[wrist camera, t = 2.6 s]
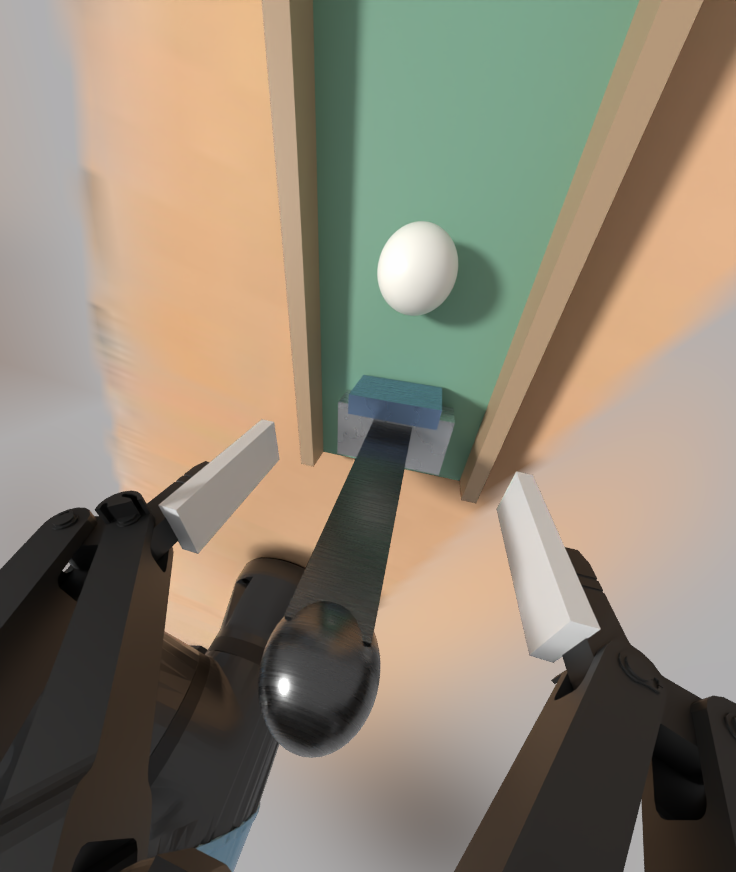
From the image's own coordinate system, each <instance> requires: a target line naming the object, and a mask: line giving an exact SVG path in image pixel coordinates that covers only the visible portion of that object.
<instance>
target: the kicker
mask: <svg viewBox="0 0 736 872" xmlns="http://www.w3.org/2000/svg"><path fill="white" fill-rule="evenodd" d="M454 424H455V419H454V408H452V407H446V406H442V387H436V386H429V385H423V384H417V383H411V382H405V381H399V380H392V379H386V378H380V377H374V376H368V375H363V376H362V377H361V379H360V380H359V381H358V383H357V384H356V385H355V387H354V388H353V389H352V390H347V391H346V393H345V394H344V395H343V396H342V398H341V399H340V400H339V401H338V447H337V454H342V455H347V456H351V457H356V459H355V462H354V464H353V466H352V468H351V470H350V472H349V475H348V477H347V479H346V481H345V483H344V486H343V488H342V490H341V492H340V494H339V497H338V499H337V501H336V503H335V505H334V507H333V510H332V512H331V514H330V516H329V518H328V521H327V523H326V525H325V527H324V529H323V531H322V534H321V536H320V538H319V540H318V542H317V545H316V547H315V549H314V551H313V553H312V556H311V558H310V560H309V562H308V564H307V566H306V569H305V571H304V573H303V575H302V577H301V580H300V582H299V584H298V586H297V588H296V590H295V593H294V595H293V597H292V599H291V601H290V604H289V606H288V608H287V610H286V612H285V615H284V617H283V618H282V619H281V620H280V622H279V623H278V624H277V626H276V627H275V629H274V630H273V632H272V634H271V636H270V638H269V640H268V642H267V644H266V647H265V649H264V652H263V656H262V659H261V664H260V669H259V679H258V695H259V703H260V708H261V712H262V716H263V718H264V721H265V723H266V726H267V728H268V729H269V731H270V733H271V734H272V736H273V737H274V738H275V739H276V741H277V742H278V743H279V744H280V745H281V746H283V747H284V748H285V749H286V750H288V751H289V752H292V753H294V754H296V755H299V756H302V757H311V758H312V757H322V756H325V755H328V754H331V753H333V752H335V751H337V750H338V749H340V748H342V747H343V746H344V745H345V744H347V743H348V742H349V741H350V740H351V739H352V738H353V737H354V736H355V735H356V734H357V733H358V731H359V730H360V729H361V727H362V726H363V725H364V723H365V721H366V719H367V718H368V716H369V714H370V711H371V709H372V707H373V705H374V701H375V698H376V695H377V690H378V685H379V678H380V655H379V648H378V643H377V639H376V636H375V633H374V627H375V622H376V617H377V611H378V606H379V601H380V596H381V590H382V585H383V580H384V574H385V569H386V564H387V558H388V553H389V548H390V543H391V537H392V532H393V527H394V521H395V516H396V511H397V506H398V500H399V495H400V490H401V484H402V479H403V474H404V469H405V468H407V469H412V470H417V471H421V472H426V473H431V474H435V475H439V473H440V469H441V466H442V463H443V460H444V456H445V453H446V450H447V447H448V443H449V440H450V437H451V434H452V431H453V427H454Z"/></svg>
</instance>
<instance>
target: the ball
mask: <svg viewBox="0 0 736 872" xmlns="http://www.w3.org/2000/svg"><path fill="white" fill-rule="evenodd" d="M457 273H458V255H457V250H456V247H455V245H454V242H453V240H452V239H451V237H450V236H449V234H448V233H447V232H446V231H445V230H444V229H443V228H441V227H440V226H438V225H436V224H434V223H431V222H426V221H418V222H412V223H410V224H407V225H405V226H403V227H401V228H400V229H399V230H397V231H396V232H395V233H394V234H393V235H392V236H391V237H390V238H389V240H388V241H387V243H386V244H385V246H384V248H383V250H382V252H381V255H380V258H379V262H378V269H377V277H378V284H379V288H380V291H381V293H382V296H383V297H384V299H385V301H386V302H387V303H388V304H389V305H390V306H391V307H392V308H393V309H394V310H396V311H397V312H399V313H402V314H404V315H409V316H418V315H423V314H426V313H429V312H431V311H433V310H434V309H436V308H437V307H438V306H440V305H441V304H442V303H443V302H444V301H445V299H446V298H447V297H448V295H449V294H450V292H451V290H452V289H453V286H454V284H455V281H456V278H457Z"/></svg>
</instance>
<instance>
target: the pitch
mask: <svg viewBox="0 0 736 872" xmlns="http://www.w3.org/2000/svg"><path fill="white" fill-rule="evenodd" d="M702 3H703V0H262V11H263V22H264V34H265V46H266V57H267V69H268V81H269V92H270V104H271V116H272V127H273V139H274V151H275V162H276V174H277V186H278V197H279V209H280V221H281V233H282V244H283V256H284V268H285V279H286V291H287V303H288V314H289V326H290V338H291V349H292V361H293V373H294V384H295V396H296V408H297V419H298V431H299V443H300V455H301V464H304V465H309V466H313V467H314V465H315V464H316V462H317V460H318V459H319V457H320V456H321V454H322V453H323V452H328V453H332V454H337V447H338V401H339V400H340V399H341V398H342V396H343V395H344V394H345V393H346V391H347V390H352V389H353V388H354V387H355V385H356V384H357V383H358V381H359V380H360V379H361V377H362V376H363V375H368V376H374V377H380V378H386V379H392V380H399V381H405V382H411V383H417V384H423V385H429V386H436V387H442V406H446V407H452V408H454V419H455V424H454V427H453V431H452V434H451V437H450V440H449V443H448V447H447V450H446V453H445V456H444V460H443V463H442V466H441V469H440V473H439V475H435V474H431V473H426V472H421V471H417V470H412V469H407V468H405V469H407V470H411V471H416V472H421V473H425V474H430V475H435V476H439V477H444V478H449V479H453V480H458V481H460V492H461V500H463V501H468V502H472V503H476V502H477V500H478V498H479V496H480V493H481V491H482V489H483V487H484V485H485V482H486V480H487V478H488V476H489V474H490V471H491V469H492V467H493V465H494V462H495V460H496V458H497V456H498V454H499V451H500V449H501V447H502V445H503V443H504V440H505V438H506V436H507V434H508V432H509V429H510V427H511V425H512V423H513V420H514V418H515V416H516V414H517V412H518V409H519V407H520V405H521V403H522V401H523V398H524V396H525V394H526V392H527V389H528V387H529V385H530V383H531V381H532V378H533V376H534V374H535V372H536V370H537V367H538V365H539V363H540V361H541V359H542V356H543V354H544V352H545V350H546V347H547V345H548V343H549V341H550V339H551V336H552V334H553V332H554V330H555V328H556V325H557V323H558V321H559V319H560V317H561V314H562V312H563V310H564V308H565V305H566V303H567V301H568V299H569V297H570V294H571V292H572V290H573V288H574V286H575V283H576V281H577V279H578V277H579V275H580V272H581V270H582V268H583V266H584V263H585V261H586V259H587V257H588V255H589V252H590V250H591V248H592V246H593V244H594V241H595V239H596V237H597V235H598V233H599V230H600V228H601V226H602V224H603V221H604V219H605V217H606V215H607V213H608V210H609V208H610V206H611V204H612V202H613V199H614V197H615V195H616V193H617V191H618V188H619V186H620V184H621V182H622V179H623V177H624V175H625V173H626V171H627V168H628V166H629V164H630V162H631V160H632V157H633V155H634V153H635V151H636V149H637V146H638V144H639V142H640V140H641V137H642V135H643V133H644V131H645V129H646V126H647V124H648V122H649V120H650V118H651V115H652V113H653V111H654V109H655V107H656V104H657V102H658V100H659V98H660V95H661V93H662V91H663V89H664V87H665V84H666V82H667V80H668V78H669V76H670V73H671V71H672V69H673V67H674V65H675V62H676V60H677V58H678V56H679V53H680V51H681V49H682V47H683V45H684V42H685V40H686V38H687V36H688V34H689V31H690V29H691V27H692V25H693V23H694V20H695V18H696V16H697V14H698V11H699V9H700V7H701V5H702ZM418 221H426V222H431V223H434V224H436V225H438V226H440V227H441V228H443V229H444V230H445V231H446V232H447V233H448V234H449V236H450V237H451V239H452V240H453V242H454V245H455V247H456V250H457V255H458V273H457V278H456V281H455V284H454V286H453V289H452V290H451V292H450V294H449V295H448V297H447V298H446V299H445V301H444V302H443V303H442V304H441V305H440V306H438V307H437V308H436V309H434V310H433V311H431V312H429V313H426V314H423V315H418V316H409V315H404V314H402V313H399V312H397V311H396V310H394V309H393V308H392V307H391V306H390V305H389V304H388V303H387V302H386V301H385V299H384V297H383V296H382V293H381V291H380V288H379V284H378V277H377V269H378V262H379V258H380V255H381V252H382V250H383V248H384V246H385V244H386V243H387V241H388V240H389V238H390V237H391V236H392V235H393V234H394V233H395V232H396V231H397V230H399V229H400V228H401V227H403V226H405V225H407V224H410V223H412V222H418ZM337 455H342V454H337ZM342 456H346V457H351V456H347V455H342ZM351 458H356V457H351Z"/></svg>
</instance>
